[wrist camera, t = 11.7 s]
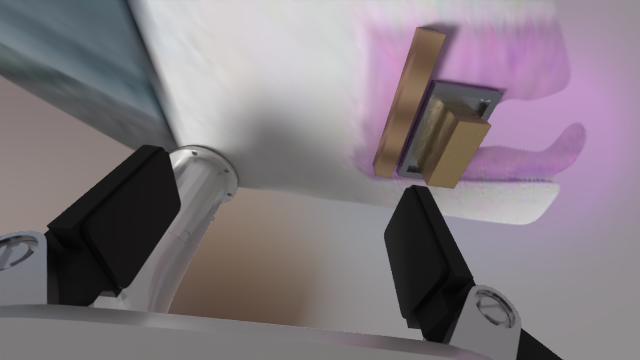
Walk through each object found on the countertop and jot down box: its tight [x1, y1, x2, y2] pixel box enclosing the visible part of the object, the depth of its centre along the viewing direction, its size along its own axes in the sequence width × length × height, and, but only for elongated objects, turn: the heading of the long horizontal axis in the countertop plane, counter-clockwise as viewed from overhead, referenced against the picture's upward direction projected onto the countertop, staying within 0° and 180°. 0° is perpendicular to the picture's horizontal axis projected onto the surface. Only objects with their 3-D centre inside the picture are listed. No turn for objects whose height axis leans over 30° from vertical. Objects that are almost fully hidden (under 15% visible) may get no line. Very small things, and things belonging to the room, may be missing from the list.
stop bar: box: [416, 103, 491, 189], centre depth 35 cm, size 4×10×6 cm, turn 173°
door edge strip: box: [373, 28, 446, 178], centre depth 34 cm, size 20×2×3 cm, turn 173°
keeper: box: [396, 80, 503, 179], centre depth 37 cm, size 15×9×2 cm, turn 173°
